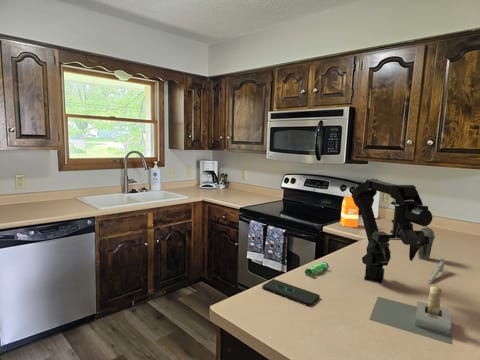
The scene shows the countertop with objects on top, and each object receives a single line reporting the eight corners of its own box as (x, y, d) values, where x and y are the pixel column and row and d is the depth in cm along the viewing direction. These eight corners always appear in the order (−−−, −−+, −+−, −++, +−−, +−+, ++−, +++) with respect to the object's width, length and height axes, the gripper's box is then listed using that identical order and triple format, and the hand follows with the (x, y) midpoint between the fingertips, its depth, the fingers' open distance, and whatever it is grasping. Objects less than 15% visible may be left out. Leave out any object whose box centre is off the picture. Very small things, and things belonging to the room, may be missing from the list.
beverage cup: (433, 258, 157) (438, 219, 154) (430, 262, 151) (434, 221, 149) (417, 254, 162) (421, 216, 159) (413, 258, 156) (417, 218, 154)
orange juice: (357, 227, 210) (359, 197, 207) (343, 227, 210) (346, 197, 207) (353, 224, 217) (355, 195, 215) (340, 224, 217) (342, 195, 215)
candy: (313, 276, 130) (309, 266, 131) (307, 278, 133) (303, 268, 134) (330, 269, 138) (326, 260, 139) (324, 271, 140) (320, 262, 142)
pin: (426, 324, 99) (430, 289, 97) (426, 319, 101) (430, 285, 100) (437, 327, 97) (441, 291, 96) (437, 322, 100) (441, 288, 98)
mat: (369, 320, 100) (369, 319, 100) (377, 297, 116) (377, 296, 116) (452, 345, 89) (452, 344, 89) (449, 315, 104) (449, 315, 104)
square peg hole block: (414, 325, 98) (416, 313, 97) (416, 312, 105) (417, 301, 105) (449, 335, 93) (451, 322, 93) (448, 321, 101) (449, 309, 100)
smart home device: (273, 278, 126) (320, 294, 114) (273, 282, 126) (320, 299, 114) (261, 285, 119) (310, 303, 107) (261, 289, 120) (310, 308, 107)
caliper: (440, 270, 143) (442, 257, 142) (443, 271, 142) (444, 257, 141) (427, 283, 128) (429, 269, 128) (430, 284, 128) (432, 269, 127)
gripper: (386, 223, 107) (382, 267, 109) (441, 225, 107) (436, 269, 109) (373, 216, 118) (369, 256, 120) (423, 217, 118) (419, 257, 120)
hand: (398, 260), depth 117 cm, fingers open, 9 cm apart
